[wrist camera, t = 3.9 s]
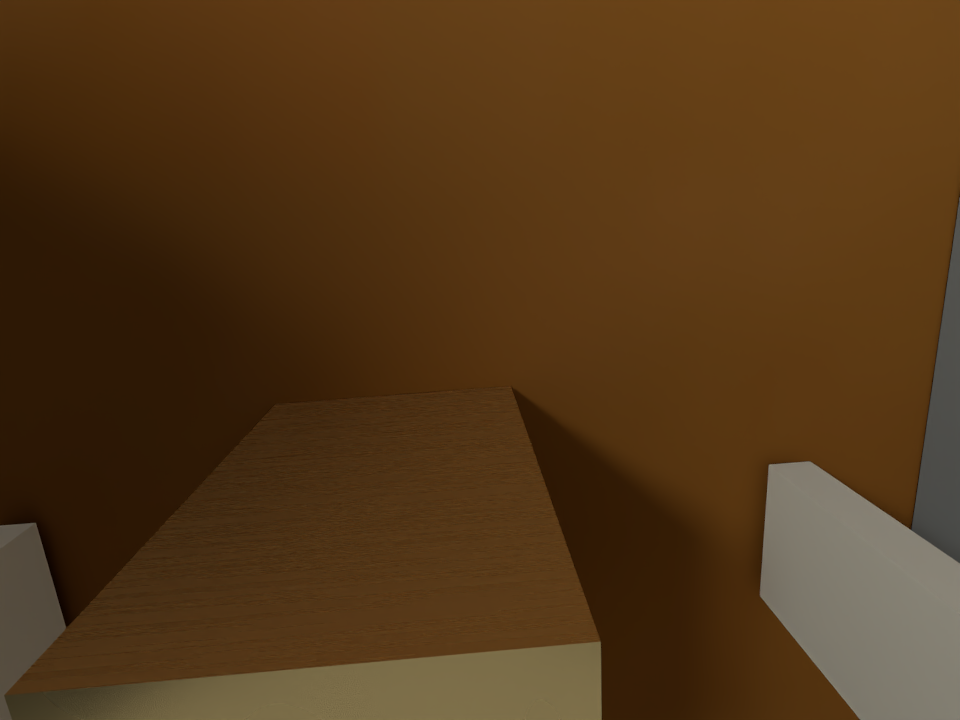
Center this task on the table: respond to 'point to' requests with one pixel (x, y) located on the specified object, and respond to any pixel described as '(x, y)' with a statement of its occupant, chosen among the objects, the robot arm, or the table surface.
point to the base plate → (943, 429)
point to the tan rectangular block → (343, 582)
